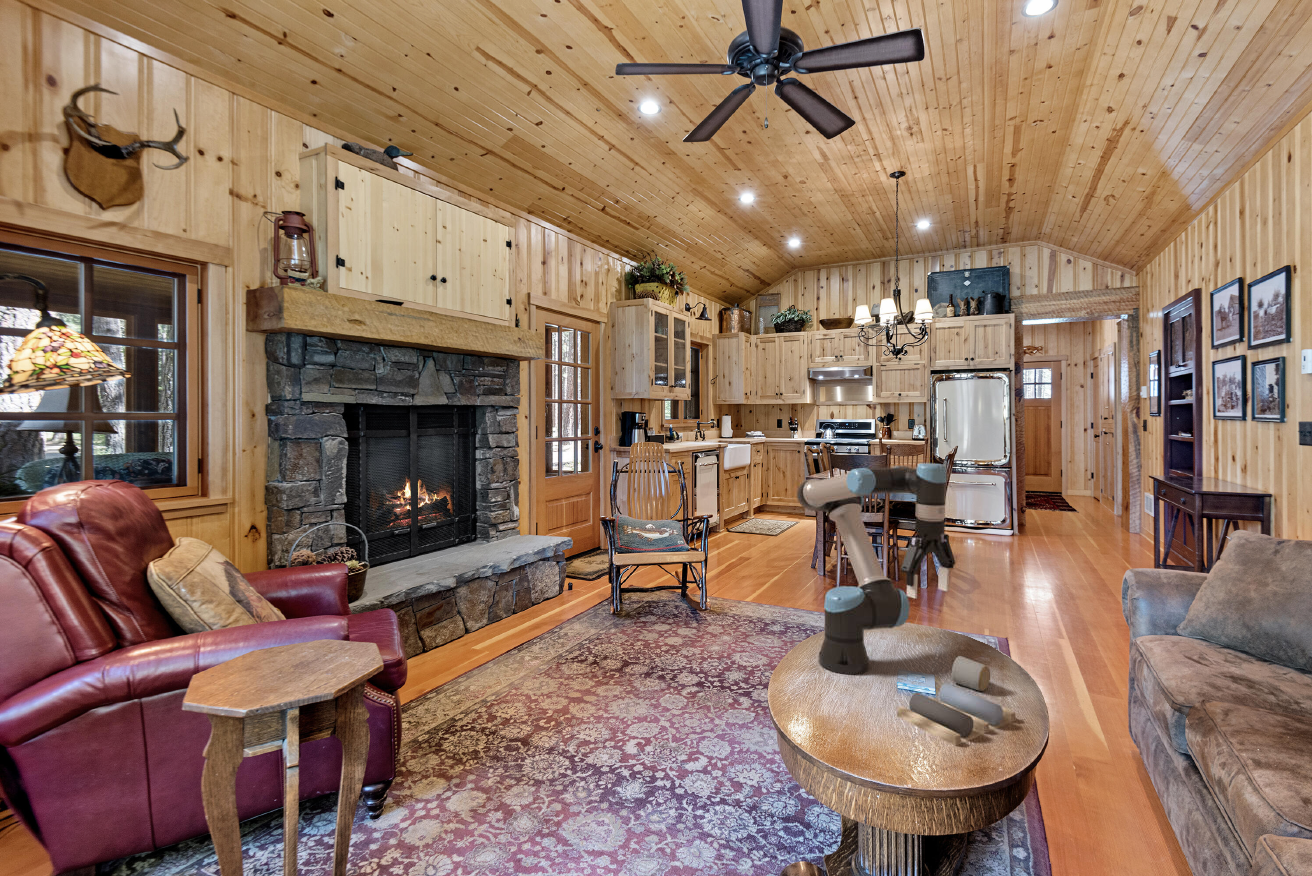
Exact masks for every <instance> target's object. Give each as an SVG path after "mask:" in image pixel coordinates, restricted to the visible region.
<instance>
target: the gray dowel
mask: <svg viewBox="0 0 1312 876" xmlns="http://www.w3.org/2000/svg"><path fill="white" fill-rule="evenodd" d="M938 696H939V701H941V702H943V703H945V704H947V705H950V706H952V707H954V708H956V709H959V710H961V711H963V712H965V713H967V714H970V715H972V716H974V717H976V718H979V719H981V720H983V721H985V722H987V723H989V724H992V725H994V726H997V725H999V724H1000V722H1001V720H1002V717H1003V709H1002V707H1003V706H1001V705H999V704H997V703H994V702H992V701H990V700H987V699H986V698H982V697H981V696H977V695H976V694H974V693H970V692H969V691H966V690H963V689H962V688H959V687H957V686H954V685H951V684H949V683H944V684H943V685H942V686H941V687H940V690H939V693H938Z"/></svg>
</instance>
